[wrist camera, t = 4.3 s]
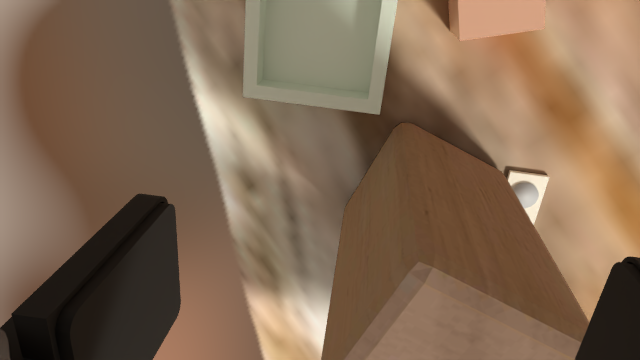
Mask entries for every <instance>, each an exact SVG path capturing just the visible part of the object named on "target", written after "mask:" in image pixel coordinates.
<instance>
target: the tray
mask: <svg viewBox="0 0 640 360" xmlns="http://www.w3.org/2000/svg"><path fill="white" fill-rule="evenodd" d="M397 1H398V0H246V4H245V37H244V71H243V97H246V98H254V99H262V100H269V101H277V102H285V103H293V104H300V105H308V106H316V107H324V108H331V109H339V110H347V111H355V112H362V113H370V114H378V115H380V110H381V104H382V98H383V91H384V85H385V78H386V72H387V65H388V59H389V53H390V46H391V40H392V33H393V27H394V21H395V14H396V8H397Z"/></svg>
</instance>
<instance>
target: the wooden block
mask: <svg viewBox="0 0 640 360" xmlns="http://www.w3.org/2000/svg"><path fill="white" fill-rule="evenodd" d="M588 325H589V321H588V319H587V318H586V316H585V314H584V312H583V311H582V309H581V307H580V305H579V304H578V302H577V300H576V298H575V297H574V295H573V293H572V291H571V290H570V288H569V286H568V284H567V283H566V281H565V279H564V277H563V276H562V274H561V272H560V271H559V269H558V267H557V265H556V264H555V262H554V260H553V258H552V257H551V255H550V253H549V251H548V250H547V248H546V246H545V244H544V243H543V241H542V239H541V237H540V236H539V234H538V232H537V230H536V229H535V227H534V225H533V223H532V222H531V220H530V218H529V216H528V215H527V213H526V211H525V209H524V208H523V206H522V204H521V203H520V201H519V199H518V197H517V196H516V194H515V192H514V190H513V189H512V187H511V185H510V183H509V182H508V180H507V178H506V177H505V176H504V174H503V173H502V172H501V171H499V170H498V169H496V168H494V167H492V166H490V165H488V164H486V163H485V162H483V161H481V160H479V159H477V158H475V157H473V156H472V155H470V154H468V153H466V152H464V151H462V150H460V149H459V148H457V147H455V146H453V145H451V144H449V143H447V142H446V141H444V140H442V139H440V138H438V137H436V136H434V135H433V134H431V133H429V132H427V131H425V130H423V129H421V128H419V127H418V126H416V125H414V124H412V123H403V122H402V123H400V124H399V125H398V126H396V127H395V128H394V129H393V130H392V132H391V134H390V135H389V137H388V139H387V140H386V142H385V143H384V145H383V147H382V148H381V150H380V152H379V153H378V155H377V156H376V158H375V160H374V161H373V163H372V165H371V166H370V168H369V169H368V171H367V173H366V174H365V176H364V178H363V179H362V181H361V182H360V184H359V186H358V187H357V189H356V191H355V192H354V194H353V195H352V197H351V199H350V200H349V202H348V204H347V205H346V207H345V210H344V216H343V223H342V229H341V235H340V242H339V248H338V255H337V261H336V268H335V274H334V281H333V287H332V294H331V300H330V306H329V313H328V319H327V326H326V332H325V339H324V345H323V352H322V358H321V360H575V357H576V355H577V352H578V350H579V347H580V345H581V343H582V340H583V338H584V335H585V333H586V330H587V328H588Z"/></svg>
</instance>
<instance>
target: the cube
mask: <svg viewBox="0 0 640 360" xmlns="http://www.w3.org/2000/svg"><path fill="white" fill-rule="evenodd" d="M448 5H449V23H450V32H451V33H452V34H453V35H454V36H455V37H456V38H457V39H458V40H459V41H464V40H471V39H478V38H485V37H491V36H498V35H505V34H512V33H519V32H526V31H532V30H539V29H545V0H448Z"/></svg>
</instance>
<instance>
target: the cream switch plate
mask: <svg viewBox="0 0 640 360" xmlns="http://www.w3.org/2000/svg"><path fill="white" fill-rule="evenodd" d="M507 180H508V182H509V183H510V185H511V187H512V189H513V190H514V192H515V194H516V196H517V197H518V199H519V201H520V203H521V204H522V206H523V208H524V209H525V211H526V213H527V215H528V216H529V218H530V220H531V222H532V223H533V225H534V222H535V219H536V216H537V213H538V210H539V207H540V204H541V201H542V198H543V195H544V192H545V189H546V186H547V183H548V180H549V176H548V175H542V174H535V173H528V172H520V171H513V170H509V173H508V176H507Z"/></svg>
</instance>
